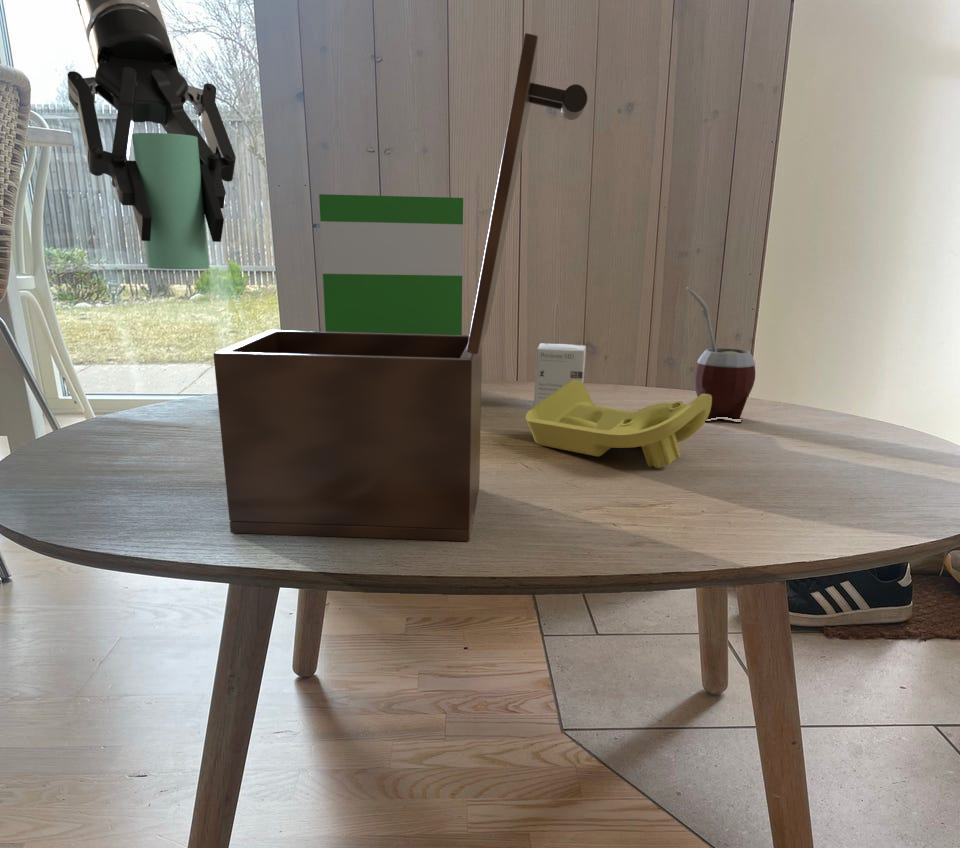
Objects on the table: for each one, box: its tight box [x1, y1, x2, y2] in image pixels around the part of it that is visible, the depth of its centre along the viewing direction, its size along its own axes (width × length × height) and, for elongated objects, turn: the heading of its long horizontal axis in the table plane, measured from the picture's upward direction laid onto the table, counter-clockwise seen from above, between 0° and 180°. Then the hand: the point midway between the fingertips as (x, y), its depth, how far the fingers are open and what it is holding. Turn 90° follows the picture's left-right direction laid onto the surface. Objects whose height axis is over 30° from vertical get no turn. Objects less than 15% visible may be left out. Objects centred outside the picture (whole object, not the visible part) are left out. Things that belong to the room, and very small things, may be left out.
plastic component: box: [525, 380, 712, 469], centre depth 93 cm, size 20×7×10 cm
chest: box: [213, 329, 483, 542], centre depth 72 cm, size 18×15×13 cm
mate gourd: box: [685, 286, 756, 419], centre depth 110 cm, size 8×8×15 cm
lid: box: [467, 32, 588, 354], centre depth 65 cm, size 19×15×5 cm
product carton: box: [533, 342, 587, 407], centre depth 117 cm, size 6×6×7 cm
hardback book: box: [318, 193, 464, 335], centre depth 122 cm, size 18×7×24 cm, turn 97°
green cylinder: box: [131, 132, 210, 270], centre depth 85 cm, size 6×6×11 cm
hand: (182, 229), depth 83 cm, fingers closed on green cylinder, 6 cm apart
